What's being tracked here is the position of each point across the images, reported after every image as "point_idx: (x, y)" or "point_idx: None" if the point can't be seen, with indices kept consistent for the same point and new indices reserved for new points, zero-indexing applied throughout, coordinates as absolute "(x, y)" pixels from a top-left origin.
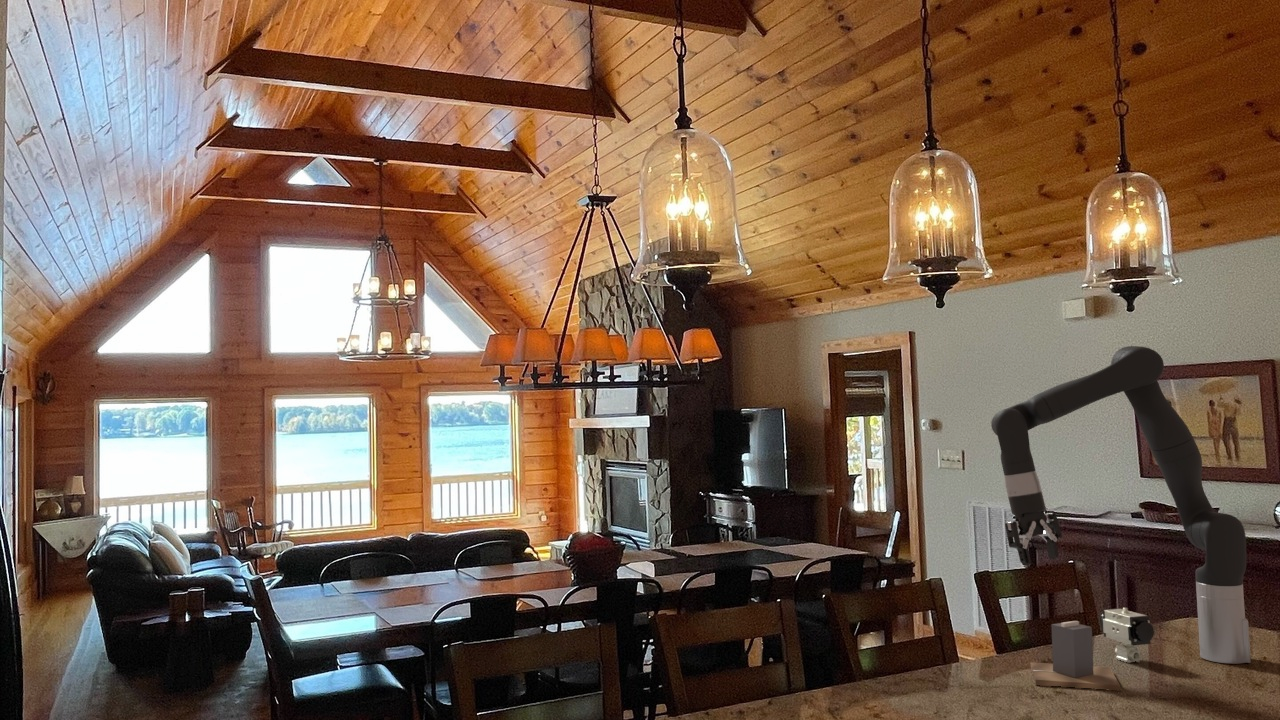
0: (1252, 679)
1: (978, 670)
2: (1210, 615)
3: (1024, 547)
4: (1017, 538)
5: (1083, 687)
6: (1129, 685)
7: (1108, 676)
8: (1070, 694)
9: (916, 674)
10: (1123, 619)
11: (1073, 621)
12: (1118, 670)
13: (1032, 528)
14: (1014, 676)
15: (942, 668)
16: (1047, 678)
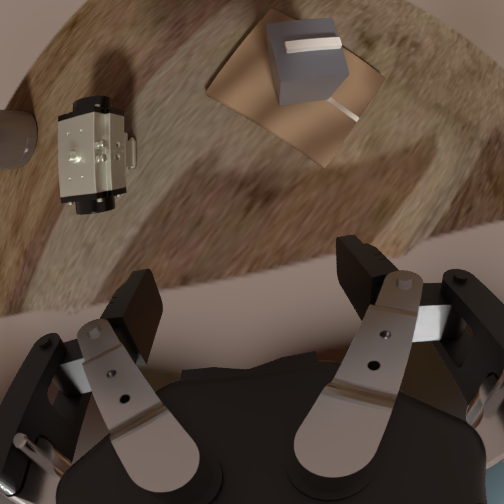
0: (60, 44)
1: (413, 191)
2: None
3: (405, 276)
4: (486, 303)
5: None
6: (232, 30)
7: (252, 46)
8: (357, 28)
9: (489, 212)
10: (99, 131)
11: (300, 44)
12: (181, 105)
13: (355, 389)
14: (383, 135)
15: (449, 225)
16: (363, 74)
